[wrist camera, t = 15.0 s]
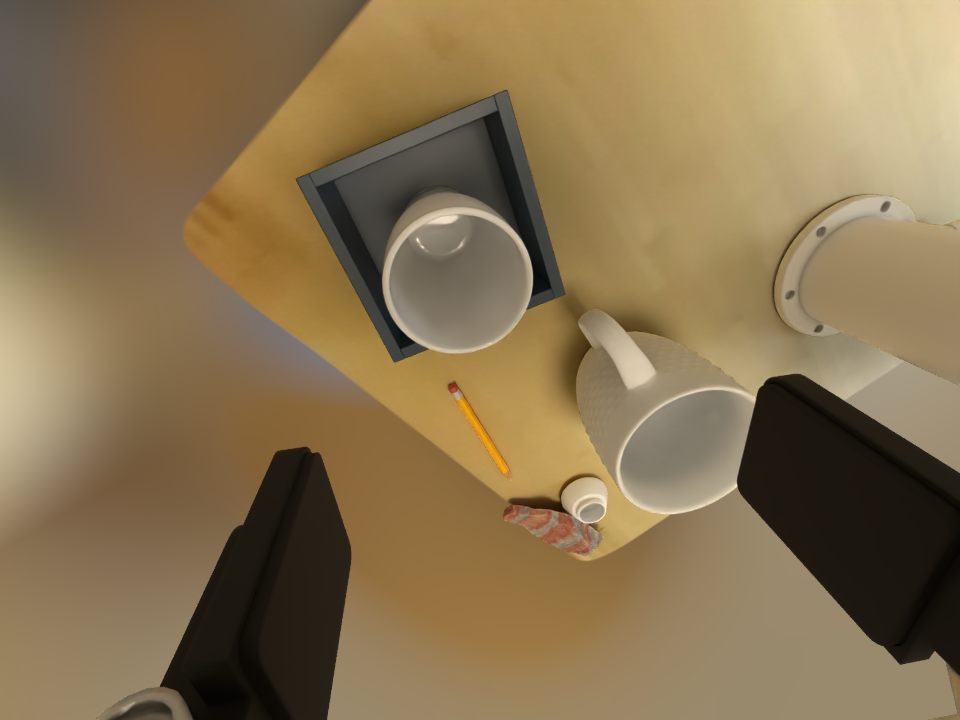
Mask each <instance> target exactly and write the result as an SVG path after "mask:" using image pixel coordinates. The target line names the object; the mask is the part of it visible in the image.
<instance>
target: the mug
mask: <svg viewBox="0 0 960 720" xmlns="http://www.w3.org/2000/svg"><path fill="white" fill-rule="evenodd" d="M578 325H579V327H580V329H581V330H582V332H583V333H584V335H585V337H586V338H587V340H588V341H589V343H590V344H591V346H592V347H591V348H590V349H589V350H588V351H587V353H586V354H585V356H584V358H583V359H582V361H581V364H580V366H579V370H578V374H577V378H576V382H577V384H576V396H577V404H578V407H579V413H580V415H581V417H582V422H583V424H584V426H585V429H586V433H587V434H588V435H589V437H590V441H591V443H592V444H593V445H594V447H595V450H596V452H597V454H598V455H599V456H600V458H601V460H602V463H603V464H604V465H605V466H606V468H607V470H608V472H609V474H610V475H611V476H612V478H613V480H614V481H615V483H616V485H617V486H618V488H619V489H620V491H621V492H622V494H623V495H624V496H625V497H626V498H627V499H628V500H629V501H630V502H631V503H632V504H634V505H636V506H637V507H639V508H641V509H644V510H646V511H650V512H653V513H659V514H676V513H684V512H688V511H692V510H696V509H699V508H702V507H704V506H706V505H709V504H711V503H713V502H715V501H717V500H718V499H720V498H722V497H723V496H725V495H727V494H728V493H729V492H731V491H732V490H733V489H735V488H736V487H737V476H738V472H739V468H740V464H741V459H742V455H743V451H744V447H745V443H746V439H747V435H748V430H749V426H750V422H751V418H752V414H753V410H754V406H755V401H756V397H755V396H754V395H753V394H751V393H750V392H749V391H748V390H746V389H745V388H744V387H742V386H741V385H740V384H739V383H737V382H736V381H735V380H734V379H733V378H732V377H730V376H728V375H727V374H725V373H724V372H723V371H722V370H721V369H720V368H718V367H716V366H714V365H713V364H712V363H711V362H710V361H708V360H707V359H705V358H703V357H701V356H700V355H699V354H698V353H696V352H694V351H692V350H690V349H688V348H687V347H686V346H684V345H681V344H679V343H677V342H676V341H673V340H669V339H667V338H665V337H660V336H657V335H655V334H648V333H646V332H637V331H634V332H625V330H624V329H623V328H622V327H621V326H620V325H619V324H618V323H617V322H616V321H615V320H614V319H613V318H612V317H610V316H609V315H608V314H606V313H605V312H604V311H602V310H599V309H592V310H590V311H587V312H586V313H584V314H583V315H582V316H581V317H580V318H579V320H578Z"/></svg>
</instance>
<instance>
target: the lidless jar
mask: <svg viewBox="0 0 960 720" xmlns="http://www.w3.org/2000/svg"><path fill="white" fill-rule="evenodd" d="M607 496H608V494H607V488H606V486H605V484H604V483H603V482H602V481H601V480H599V479H597V478H594V477H585V478H581V479H578V480H575V481H574V482H572V483H571V484H569V485H568V486H567V487H566V488H565V490H564V491H563V493H562V496H561V502H562V506H563V508H564V509H565V510H566V511H567V512H568V513H570V514H571V515H572V516H574V517H575V518H577V519H579V520H580V521H581V522H583V523H587V524H590V523H595V522H597V521H599V520H600V519H602V518H603V517H604V515H605V513H606V506H607Z"/></svg>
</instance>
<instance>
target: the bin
mask: <svg viewBox="0 0 960 720" xmlns="http://www.w3.org/2000/svg"><path fill="white" fill-rule="evenodd" d="M296 181H297V183H298V185H299V187H300V189H301V191H302V193H303V194H304V196H305V198H306V200H307V202H308V204H309V205H310V207H311V209H312V211H313V213H314V215H315V217H316V218H317V220H318V222H319V224H320V226H321V228H322V230H323V231H324V233H325V235H326V237H327V239H328V241H329V243H330V244H331V246H332V248H333V250H334V252H335V254H336V256H337V257H338V259H339V261H340V263H341V265H342V267H343V269H344V270H345V272H346V274H347V276H348V278H349V280H350V282H351V283H352V285H353V287H354V289H355V291H356V293H357V295H358V296H359V298H360V300H361V302H362V304H363V306H364V308H365V309H366V311H367V313H368V315H369V317H370V319H371V321H372V322H373V324H374V326H375V328H376V330H377V332H378V334H379V335H380V337H381V339H382V341H383V343H384V345H385V346H386V348H387V350H388V352H389V354H390V356H391V358H392V359H393V361H394V363H395V362H398V361H400V360H403V359H405V358H408V357H410V356H413V355H415V354H418V353H420V352H423V351H425V350H428V348H426V347H424V346H422V345H420V344H418V343H416V342H415V341H413V340H412V339H411V338H409V337H408V336H407V335H406V334H405V333H404V332H403V331H402V330H401V329H400V328H399V327H398V326H397V324H396V323H395V322H394V320H393V318H392V317H391V315H390V313H389V311H388V308H387V306H386V303H385V299H384V295H383V287H382V270H383V258H384V253H385V248H386V244H387V241H388V238H389V235H390V233H391V231H392V229H393V227H394V225H395V223H396V222H397V220H398V219H399V217H400V216H401V214H402V213H403V212H404V209H405V207H406V205H407V203H408V202H409V200H410V199H411V198H412V197H413V196H414V195H415V194H416V193H418V192H419V191H421V190H423V189H425V188H428V187H432V186H445V187H449V188H452V189H454V190H456V191H458V192H459V193H462V194H466V195H469V196H472V197H474V198H476V199H479V200H480V201H482V202H484V203H486V204H487V205H489V206H490V207H492V208H493V209H494V210H495V211H497V212H498V213H499V214H500V215H501V216H502V217H503V218H504V219H505V220H506V221H507V222H508V223H509V224H510V225H511V227H512V228H513V229H514V230H515V232H516V233H517V234H518V236H519V237H520V238H521V240H522V242H523V243H524V245H525V247H526V249H527V251H528V254H529V257H530V260H531V264H532V270H533V287H532V294H531V298H530V301H529V304H528V307H527V309H526V310H528V309H530V308H533V307H535V306H538V305H540V304H543V303H545V302H548V301H550V300H553V299H554V298H558V297H560V296H563V295H565V290H564V287H563V283H562V280H561V276H560V273H559V269H558V266H557V262H556V259H555V255H554V252H553V248H552V245H551V241H550V238H549V234H548V231H547V227H546V224H545V220H544V217H543V213H542V210H541V206H540V203H539V199H538V196H537V192H536V189H535V185H534V181H533V178H532V174H531V171H530V167H529V164H528V160H527V157H526V153H525V150H524V146H523V143H522V139H521V136H520V132H519V129H518V125H517V122H516V118H515V115H514V111H513V108H512V104H511V101H510V97H509V94H508V90H504V91H502V92H500V93H497V94H495V95H492V96H490V97H488V98H485V99H483V100H481V101H478V102H476V103H474V104H471V105H469V106H466V107H464V108H462V109H459V110H457V111H455V112H452V113H450V114H448V115H445V116H443V117H440V118H438V119H436V120H433V121H431V122H429V123H426V124H424V125H422V126H419V127H417V128H414V129H412V130H410V131H407V132H405V133H403V134H400V135H398V136H396V137H393V138H391V139H388V140H386V141H384V142H381V143H379V144H377V145H374V146H372V147H370V148H367V149H365V150H362V151H360V152H358V153H355V154H353V155H351V156H348V157H346V158H344V159H341V160H339V161H336V162H334V163H332V164H329V165H327V166H325V167H322V168H320V169H318V170H315V171H313V172H310V173H308V174H306V175H303V176H301V177H299V178H296Z"/></svg>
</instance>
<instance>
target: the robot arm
mask: <svg viewBox="0 0 960 720" xmlns="http://www.w3.org/2000/svg"><path fill="white" fill-rule="evenodd" d="M774 299H775V304H776V309H777V311H778V313H779V315H780V317H781V318H782V320H783V321H784V322H785V323H786V324H787V325H788V326H790V327H792V328H793V329H795V330H797V331H799V332H801V333H804V334H806V335H810V336H830V335H834V334H839V333H842V332H844V333H846V334H848V335H850V336H852V337H855V338H857V339H859V340H861V341H863V342H865V343H868V344H870V345H872V346H874V347H876V348H879V349H881V350H883V351H885V352H887V353H889V354H892V355H894V356H896V357H898V358H900V359H902V360H905V361H907V362H909V363H911V364H913V365H916V366H918V367H920V368H922V369H924V370H926V371H928V372H931V373H933V374H935V375H937V376H939V377H942V378H944V379H946V380H948V381H950V382H952V383H954V384H957V385H959V386H960V219H958V220H956V221H953V222H951V223H948V224H946V225H944V226H939V225H933V224H928V223H922V222H917V221H916V217H915V216H914V214H913V212H912V210H911V209H910V208H909V207H908V206H907V205H906V204H905V203H904V202H903V201H900V200H898V199H896V198H893V197H889V196H883V195H866V194H865V195H860V196H855V197H851V198H848V199H846V200H843V201H841V202H838V203H836V204H835V205H833V206H831V207H830V208H828V209H826V210H825V211H823V212H822V213H821V214H819V215H818V216H817V217H816V218H814V219H813V220H812V221H811V222H810V223H809V224H808V225H807V226H806V227H805V228H804V229H803V230H802V231H801V232H800V233H799V235H798V236H797V237H796V239H795V240H794V241H793V243H792V244H791V245H790V247H789V249H788V250H787V252H786V254H785V256H784V258H783V259H782V262H781V264H780V267H779V270H778V272H777V276H776V281H775V286H774ZM737 487H738V490H739V492H740V494H741V495H742V496H743V498H744V499H745V500H746V501H747V502H748V503H749V504H750V505H751V506H752V508H753V509H754V510H755V511H756V512H757V513H758V514H759V516H760V517H761V518H762V519H763V520H764V521H765V522H766V523H767V524H768V526H769V527H770V528H771V529H772V530H773V531H774V532H775V533H776V534H777V536H778V537H779V538H780V539H781V540H782V541H783V542H784V543H785V544H786V546H787V547H788V548H789V549H790V550H791V551H792V552H793V553H794V555H795V556H796V557H797V558H798V559H799V560H800V561H801V562H802V563H803V565H804V566H805V567H806V568H807V569H808V570H809V571H810V572H811V574H812V575H813V576H814V577H815V578H816V579H817V580H818V581H819V582H820V584H821V585H822V586H823V587H824V588H825V589H826V590H827V591H828V593H829V594H830V595H831V596H832V597H833V598H834V599H835V600H836V601H837V603H838V604H839V605H840V606H841V607H842V608H843V609H844V610H845V611H846V613H847V614H848V615H849V616H850V617H851V618H852V619H853V620H854V622H856V624H857V625H858V626H859V627H860V628H861V629H862V630H863V632H864V633H865V634H866V635H867V636H868V637H869V638H870V639H871V640H872V641H874V642H875V643H877V644H879V645H881V646H884V647H885V648H886V650H887V651H888V652H889V653H890V654H891V655H892V656H893V657H894V658H895V659H896V661H897V662H898V663H899V664H900V665H901V664H906V663H911V662H916V661H921V660H926V659H929V658H930V657H931V655H932V654H933V652H934V651H936V652H937V653H938V654H939V655H940V656H941V657H942V658H943V659H944V660H945V661H946V666H947V671H948V675H949V679H950V683H951V687H952V691H953V696H954V700H955V704H956V709H957V713H958V714H954V715H949V716H944V717H939V718H935V719H930V720H960V473H958V472H957V471H955V470H954V469H952V468H951V467H949V466H947V465H946V464H944V463H942V462H941V461H939V460H938V459H936V458H935V457H933V456H931V455H930V454H928V453H927V452H925V451H923V450H922V449H920V448H919V447H917V446H916V445H914V444H912V443H911V442H909V441H907V440H906V439H904V438H903V437H901V436H900V435H898V434H896V433H895V432H893V431H891V430H890V429H888V428H887V427H885V426H884V425H882V424H880V423H879V422H877V421H876V420H874V419H872V418H871V417H869V416H868V415H866V414H864V413H863V412H861V411H860V410H858V409H856V408H855V407H853V406H852V405H850V404H848V403H847V402H845V401H844V400H842V399H841V398H839V397H837V396H836V395H834V394H833V393H831V392H829V391H828V390H826V389H825V388H823V387H821V386H820V385H818V384H817V383H815V382H813V381H812V380H810V379H809V378H807V377H805V376H803V375H801V374H791V375H784V376H777V377H771V378H769V379H767V380H766V381H765V383H764V385H763V386H761V387H760V388H759V390H758V393H757V397H756V401H755V406H754V410H753V414H752V418H751V422H750V426H749V430H748V435H747V439H746V443H745V447H744V451H743V455H742V459H741V464H740V468H739V472H738V476H737ZM350 566H351V546H350V542H349V539H348V536H347V533H346V530H345V527H344V524H343V521H342V518H341V515H340V512H339V509H338V505H337V502H336V499H335V496H334V493H333V490H332V488H331V484H330V481H329V478H328V476H327V472H326V469H325V466H324V463H323V460H322V457H321V455H320V454H319V453H318V452H317V453H311V451H310V449H309V448H308V447H301V448H295V449H288V450H281V451H277V452H276V453H275V455H274V457H273V459H272V461H271V463H270V466H269V468H268V470H267V472H266V475H265V477H264V479H263V481H262V484H261V486H260V488H259V490H258V493H257V495H256V497H255V500H254V502H253V504H252V506H251V508H250V511H249V513H248V516H247V518H246V520H245V522H244V524H243V525H240V526H238V527H237V528H236V529H234V530H233V532H232V533H231V535H230V537H229V539H228V541H227V543H226V545H225V547H224V549H223V552H222V554H221V556H220V558H219V560H218V562H217V565H216V567H215V569H214V571H213V573H212V575H211V577H210V580H209V582H208V584H207V586H206V588H205V590H204V592H203V595H202V597H201V599H200V601H199V603H198V606H197V607H196V610H195V612H194V614H193V616H192V618H191V620H190V623H189V625H188V627H187V629H186V631H185V633H184V635H183V638H182V640H181V642H180V644H179V646H178V649H177V651H176V653H175V655H174V657H173V659H172V661H171V663H170V666H169V668H168V670H167V672H166V674H165V676H164V679H163V681H162V683H161V685H160V687H157V688H148V689H145V690H142V691H140V692H137V693H134V694H132V695H129V696H127V697H126V698H124V699H122V700H121V701H119V702H118V703H116V704H114V705H113V706H111V707H109V708H108V709H107V710H105V711H104V712H103V713H102V714H101V715H100V716H99V717H97V718H96V719H95V720H327V716H328V709H329V702H330V696H331V690H332V682H333V676H334V670H335V663H336V657H337V650H338V644H339V637H340V631H341V624H342V618H343V611H344V605H345V598H346V592H347V585H348V579H349V571H350Z"/></svg>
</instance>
